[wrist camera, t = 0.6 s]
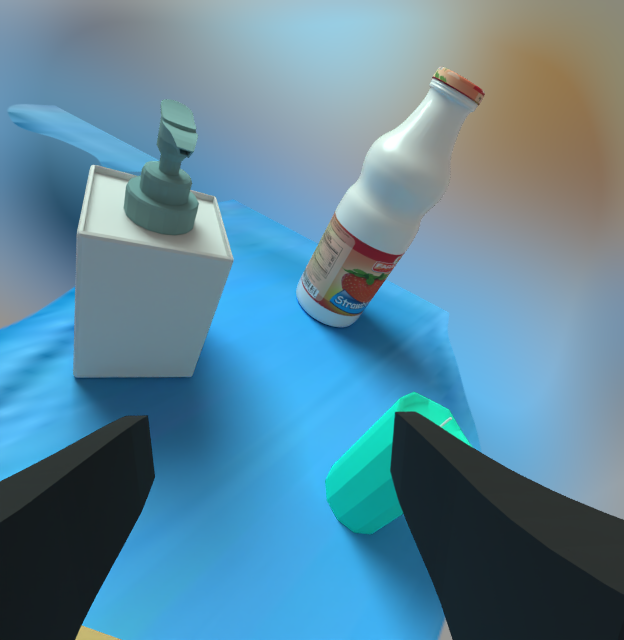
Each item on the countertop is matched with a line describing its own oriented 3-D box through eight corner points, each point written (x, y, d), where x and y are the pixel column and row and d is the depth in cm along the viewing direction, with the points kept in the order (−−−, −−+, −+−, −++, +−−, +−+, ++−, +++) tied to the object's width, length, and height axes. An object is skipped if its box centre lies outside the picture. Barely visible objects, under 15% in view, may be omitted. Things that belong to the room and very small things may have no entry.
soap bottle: (72, 381, 26) (78, 109, 14) (84, 300, 31) (95, 58, 20) (192, 379, 30) (268, 171, 19) (184, 309, 36) (239, 115, 24)
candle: (388, 547, 27) (502, 481, 20) (319, 517, 26) (412, 438, 19) (388, 475, 32) (480, 402, 25) (330, 449, 31) (408, 365, 24)
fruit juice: (321, 276, 52) (438, 70, 36) (367, 318, 50) (516, 113, 33) (280, 289, 45) (401, 39, 29) (330, 338, 42) (497, 91, 26)
